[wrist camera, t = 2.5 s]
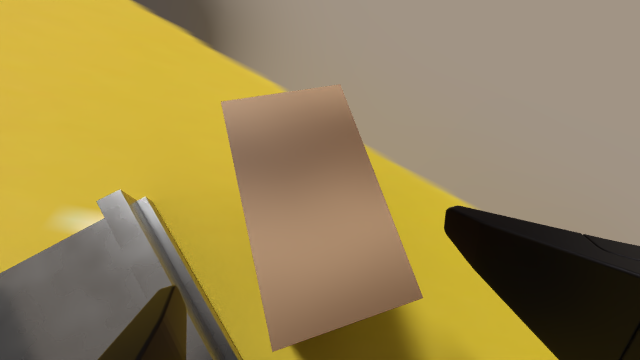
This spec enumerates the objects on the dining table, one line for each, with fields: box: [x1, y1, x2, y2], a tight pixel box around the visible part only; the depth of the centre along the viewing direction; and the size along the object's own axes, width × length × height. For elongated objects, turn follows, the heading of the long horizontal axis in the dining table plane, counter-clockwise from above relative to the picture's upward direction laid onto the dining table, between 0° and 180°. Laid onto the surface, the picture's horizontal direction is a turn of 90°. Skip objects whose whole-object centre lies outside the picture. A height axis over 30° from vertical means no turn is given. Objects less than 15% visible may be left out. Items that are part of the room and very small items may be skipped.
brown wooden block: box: [221, 85, 423, 352], centre depth 14 cm, size 8×4×10 cm, turn 17°
